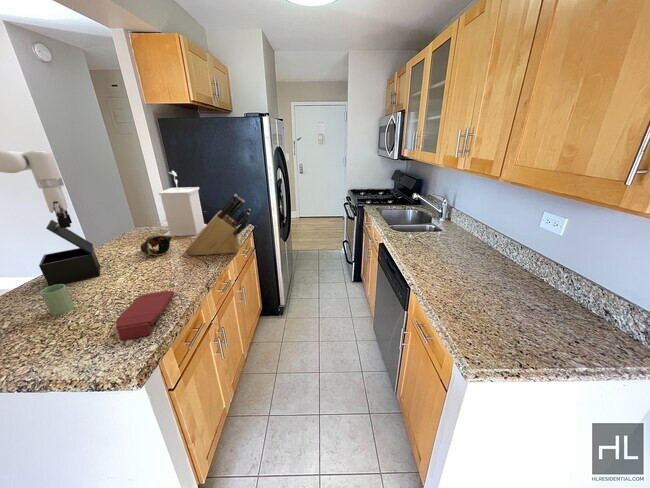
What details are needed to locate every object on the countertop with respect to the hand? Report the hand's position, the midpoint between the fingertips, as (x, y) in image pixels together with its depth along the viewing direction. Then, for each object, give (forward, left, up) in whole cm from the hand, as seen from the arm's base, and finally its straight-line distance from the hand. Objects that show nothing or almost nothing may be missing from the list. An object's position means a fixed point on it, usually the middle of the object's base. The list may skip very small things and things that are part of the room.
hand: (66, 225), depth 112 cm
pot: (+27, +15, -24) cm, 39 cm away
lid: (0, 0, -6) cm, 6 cm away
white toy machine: (+38, +54, -24) cm, 70 cm away
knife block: (+60, +5, -24) cm, 65 cm away
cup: (+4, -31, -24) cm, 39 cm away
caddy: (-3, -1, -24) cm, 24 cm away
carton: (+34, -46, -24) cm, 62 cm away
